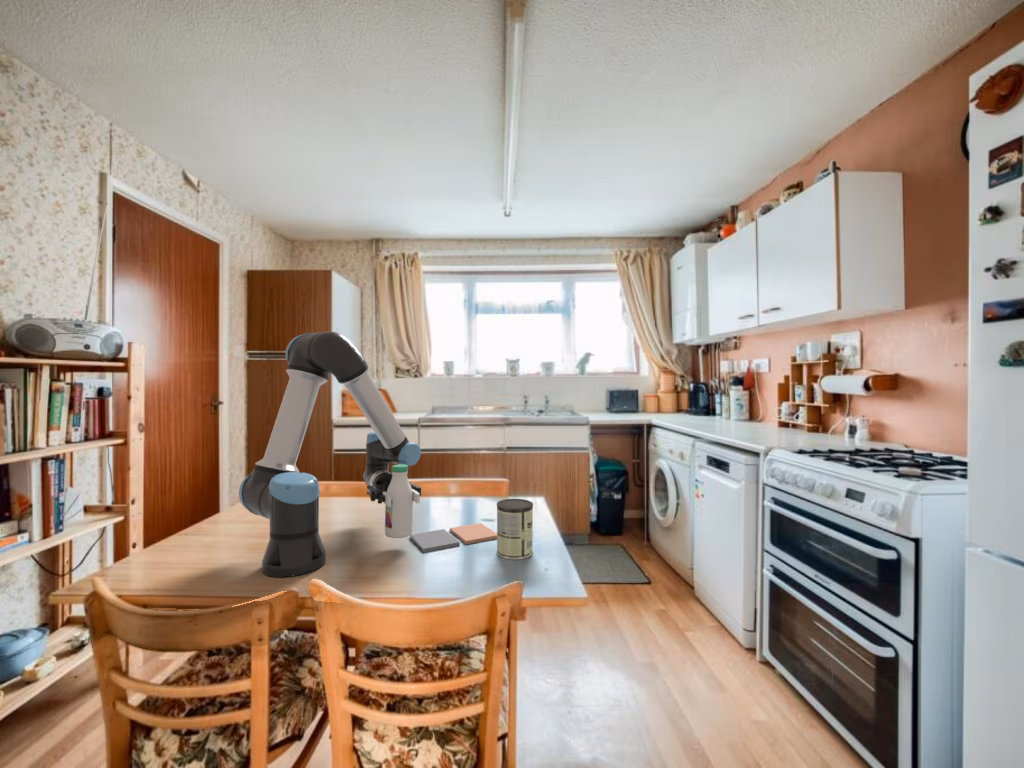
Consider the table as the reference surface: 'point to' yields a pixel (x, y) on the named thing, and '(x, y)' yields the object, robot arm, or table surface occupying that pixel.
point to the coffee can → (514, 529)
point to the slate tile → (434, 540)
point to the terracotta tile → (473, 533)
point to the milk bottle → (399, 504)
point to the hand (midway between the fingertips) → (404, 500)
